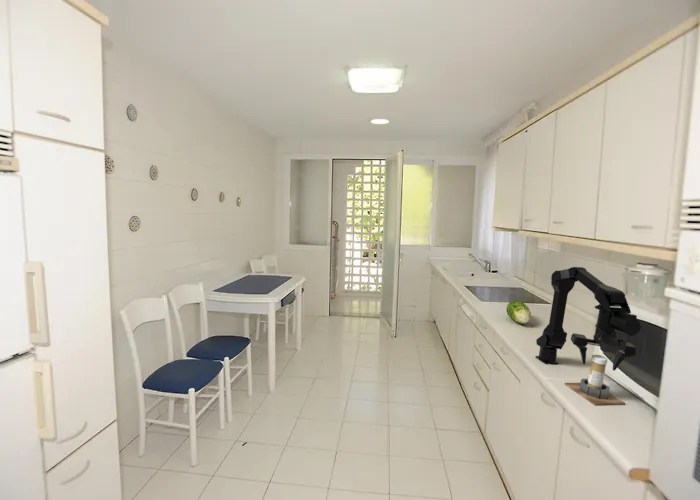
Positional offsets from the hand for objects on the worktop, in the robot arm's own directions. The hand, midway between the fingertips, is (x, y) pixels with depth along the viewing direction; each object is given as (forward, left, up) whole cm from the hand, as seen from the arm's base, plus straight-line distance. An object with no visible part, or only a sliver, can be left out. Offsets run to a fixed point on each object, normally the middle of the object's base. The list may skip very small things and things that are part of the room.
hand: (598, 367), depth 132 cm
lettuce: (-76, +22, -10) cm, 80 cm away
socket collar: (0, 0, -10) cm, 10 cm away
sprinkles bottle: (0, 0, -10) cm, 10 cm away
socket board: (0, 0, -10) cm, 10 cm away
